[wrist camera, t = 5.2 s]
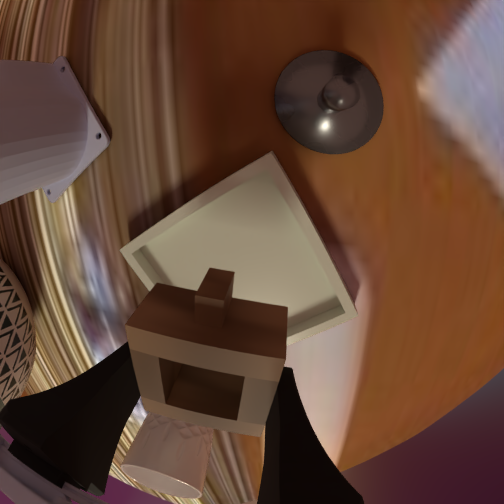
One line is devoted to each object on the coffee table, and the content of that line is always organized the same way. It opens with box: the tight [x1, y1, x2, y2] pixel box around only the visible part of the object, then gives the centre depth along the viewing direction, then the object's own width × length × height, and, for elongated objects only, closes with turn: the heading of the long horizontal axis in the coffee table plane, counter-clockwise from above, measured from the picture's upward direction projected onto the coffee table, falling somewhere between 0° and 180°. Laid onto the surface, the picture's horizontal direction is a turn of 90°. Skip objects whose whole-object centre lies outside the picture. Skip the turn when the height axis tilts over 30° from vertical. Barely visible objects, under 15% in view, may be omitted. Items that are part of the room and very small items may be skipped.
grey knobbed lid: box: [275, 50, 383, 154], centre depth 13 cm, size 6×6×4 cm
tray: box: [120, 151, 358, 346], centre depth 19 cm, size 12×12×2 cm
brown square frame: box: [125, 268, 288, 437], centre depth 11 cm, size 6×7×3 cm
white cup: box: [120, 412, 214, 498], centre depth 23 cm, size 8×8×10 cm
